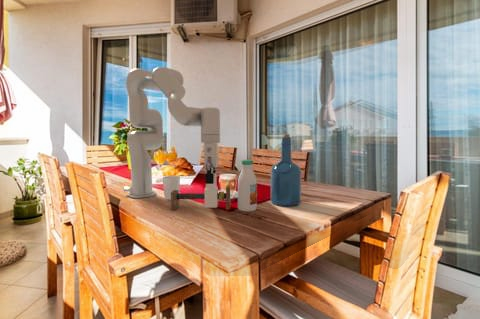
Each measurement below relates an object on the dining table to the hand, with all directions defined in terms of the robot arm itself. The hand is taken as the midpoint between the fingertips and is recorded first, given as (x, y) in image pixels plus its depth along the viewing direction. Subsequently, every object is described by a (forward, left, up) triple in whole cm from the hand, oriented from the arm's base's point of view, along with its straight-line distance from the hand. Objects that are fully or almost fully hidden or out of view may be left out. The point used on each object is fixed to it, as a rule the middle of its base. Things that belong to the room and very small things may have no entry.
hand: (210, 181), depth 109 cm
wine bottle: (+32, +7, -11) cm, 34 cm away
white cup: (-20, +17, -11) cm, 29 cm away
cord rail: (-4, 0, -11) cm, 12 cm away
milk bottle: (+15, -2, -11) cm, 19 cm away
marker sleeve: (0, 0, -11) cm, 11 cm away
